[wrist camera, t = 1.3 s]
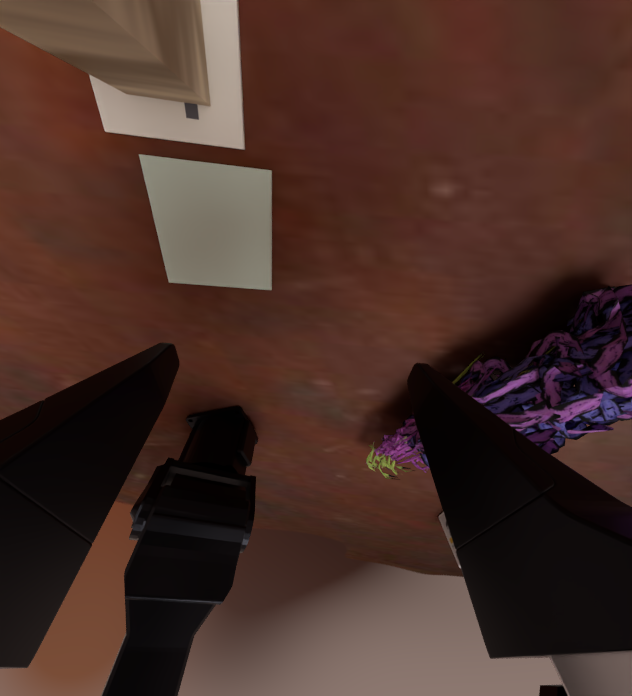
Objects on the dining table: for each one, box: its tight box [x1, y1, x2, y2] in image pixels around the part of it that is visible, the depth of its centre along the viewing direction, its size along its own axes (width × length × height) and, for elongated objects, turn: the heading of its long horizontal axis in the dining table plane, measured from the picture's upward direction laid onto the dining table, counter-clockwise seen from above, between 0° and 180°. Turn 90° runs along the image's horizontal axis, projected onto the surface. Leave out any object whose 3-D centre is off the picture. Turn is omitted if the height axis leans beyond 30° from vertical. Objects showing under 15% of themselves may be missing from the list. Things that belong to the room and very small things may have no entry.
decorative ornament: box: [366, 285, 632, 480], centre depth 24 cm, size 13×11×30 cm
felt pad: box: [139, 154, 272, 290], centre depth 18 cm, size 8×8×1 cm
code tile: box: [89, 0, 245, 150], centre depth 13 cm, size 8×8×1 cm
